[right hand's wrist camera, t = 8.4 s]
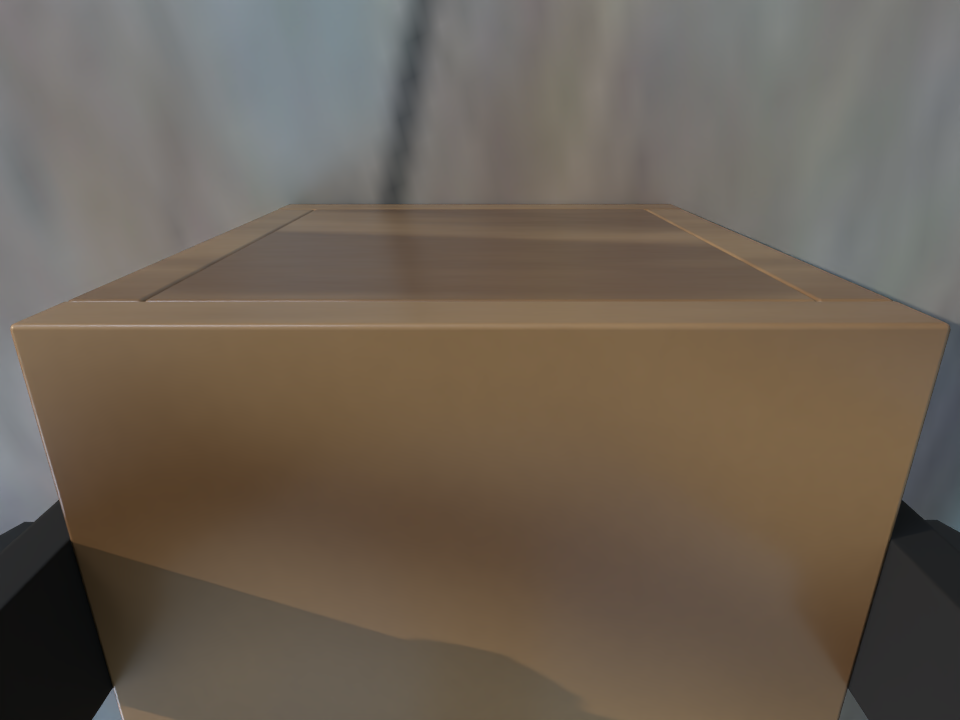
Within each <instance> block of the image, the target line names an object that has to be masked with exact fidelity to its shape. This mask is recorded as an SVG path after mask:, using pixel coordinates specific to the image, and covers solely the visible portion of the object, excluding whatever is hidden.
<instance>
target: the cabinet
mask: <svg viewBox="0 0 960 720" xmlns="http://www.w3.org/2000/svg"><path fill="white" fill-rule="evenodd" d="M949 333H950V325H949V324H947V323H945V322H943V321H940V320H938V319H936V318H933V317H931V316H929V315H926V314H924V313H922V312H919V311H917V310H915V309H912V308H910V307H908V306H905V305H903V304H901V303H898V302H896V301H892V300H891V299H889V298H886V297H884V296H882V295H879V294H877V293H875V292H872V291H870V290H868V289H866V288H863V287H861V286H859V285H856V284H854V283H852V282H849V281H847V280H845V279H842V278H840V277H838V276H835V275H833V274H831V273H828V272H826V271H824V270H821V269H819V268H817V267H814V266H812V265H810V264H807V263H805V262H803V261H801V260H798V259H796V258H794V257H791V256H789V255H787V254H784V253H782V252H780V251H777V250H775V249H773V248H770V247H768V246H766V245H763V244H761V243H759V242H756V241H754V240H752V239H749V238H747V237H745V236H742V235H740V234H738V233H736V232H733V231H731V230H729V229H726V228H724V227H722V226H719V225H717V224H715V223H712V222H710V221H708V220H705V219H703V218H701V217H698V216H696V215H694V214H691V213H689V212H687V211H684V210H682V209H680V208H678V207H676V206H673V205H671V204H289V205H287V206H285V207H282V208H280V209H278V210H276V211H274V212H272V213H269V214H267V215H265V216H263V217H260V218H258V219H256V220H253V221H251V222H249V223H246V224H244V225H242V226H239V227H237V228H235V229H233V230H230V231H228V232H226V233H223V234H221V235H219V236H216V237H214V238H212V239H210V240H207V241H205V242H203V243H200V244H198V245H196V246H193V247H191V248H189V249H186V250H184V251H182V252H180V253H177V254H175V255H173V256H170V257H168V258H166V259H163V260H161V261H159V262H157V263H154V264H152V265H150V266H147V267H145V268H143V269H140V270H138V271H136V272H133V273H131V274H129V275H127V276H124V277H122V278H120V279H117V280H115V281H113V282H110V283H108V284H106V285H103V286H101V287H99V288H97V289H94V290H92V291H90V292H87V293H85V294H83V295H80V296H78V297H76V298H74V299H71V300H69V301H68V302H63V303H61V304H59V305H56V306H54V307H52V308H49V309H47V310H45V311H42V312H40V313H38V314H35V315H33V316H31V317H28V318H26V319H24V320H22V321H19V322H17V323H15V324H12V326H11V334H12V337H13V341H14V344H15V348H16V351H17V355H18V358H19V362H20V365H21V369H22V372H23V376H24V379H25V383H26V386H27V390H28V393H29V397H30V400H31V404H32V407H33V411H34V414H35V418H36V421H37V425H38V428H39V431H40V435H41V438H42V442H43V445H44V449H45V452H46V456H47V459H48V463H49V466H50V470H51V473H52V477H53V480H54V484H55V487H56V491H57V494H58V498H59V501H60V505H61V508H62V512H63V515H64V519H65V522H66V526H67V529H68V532H69V536H70V539H71V543H72V546H73V550H74V553H75V557H76V560H77V564H78V567H79V571H80V574H81V578H82V581H83V585H84V588H85V592H86V595H87V599H88V602H89V606H90V609H91V613H92V616H93V620H94V623H95V627H96V630H97V633H98V637H99V640H100V644H101V647H102V651H103V654H104V658H105V661H106V665H107V668H108V672H109V675H110V679H111V682H112V686H113V689H114V693H115V696H116V700H117V703H118V707H119V710H120V714H121V717H122V720H839V717H840V713H841V710H842V706H843V703H844V699H845V696H846V692H847V689H848V685H849V682H850V678H851V675H852V671H853V668H854V664H855V661H856V657H857V654H858V650H859V647H860V643H861V640H862V636H863V633H864V629H865V626H866V622H867V619H868V615H869V612H870V608H871V605H872V602H873V598H874V595H875V591H876V588H877V584H878V581H879V577H880V574H881V570H882V567H883V563H884V560H885V556H886V553H887V549H888V546H889V542H890V539H891V535H892V532H893V528H894V525H895V521H896V518H897V514H898V511H899V507H900V504H901V500H902V497H903V493H904V490H905V486H906V483H907V479H908V476H909V472H910V469H911V466H912V462H913V459H914V455H915V452H916V448H917V445H918V441H919V438H920V434H921V431H922V427H923V424H924V420H925V417H926V413H927V410H928V406H929V403H930V399H931V396H932V392H933V389H934V385H935V382H936V378H937V375H938V371H939V368H940V364H941V361H942V357H943V354H944V350H945V347H946V343H947V340H948V336H949Z"/></svg>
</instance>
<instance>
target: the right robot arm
mask: <svg viewBox="0 0 960 720" xmlns="http://www.w3.org/2000/svg"><path fill="white" fill-rule="evenodd" d="M112 688H113V686H112V682H111V679H110V675H109V672H108V668H107V665H106V661H105V658H104V654H103V651H102V647H101V644H100V640H99V637H98V633H97V630H96V627H95V623H94V620H93V616H92V613H91V609H90V606H89V602H88V599H87V595H86V592H85V588H84V585H83V581H82V578H81V574H80V571H79V567H78V564H77V560H76V557H75V553H74V550H73V546H72V543H71V539H70V536H69V532H68V529H67V526H66V522H65V519H64V515H63V512H62V508H61V505H60V501H59V500H58V501H57V502H56V503H55V504H54V505H53V506H52V507H50V508H49V509H48V510H47V511H46V512H45V513H44V514H43V515H41V516H40V517H39V518H38V519H37V520H36V521H35V522H24V523H22V524H20V525H18V526H16V527H15V528H13V529H11V530H9V531H7V532H6V533H4V534H2V535H0V720H92V719H93V717H94V716H95V714H96V713H97V711H98V710H99V708H100V707H101V705H102V703H103V702H104V700H105V699H106V697H107V696H108V694H109V693H110V691H111V690H112ZM848 689H849V690H850V692H851V693H852V695H853V696H854V698H855V699H856V701H857V702H858V704H859V705H860V707H861V709H862V710H863V712H864V713H865V715H866V716H867V718H868V719H869V720H960V532H958V531H956V530H954V529H952V528H951V527H949V526H947V525H945V524H943V523H942V522H940V521H938V520H924V519H923V518H922V517H920V516H919V515H918V514H917V513H916V512H915V511H914V510H913V509H911V508H910V507H909V506H908V505H907V504H906V503H905V502H904V501H903V500H901V504H900V507H899V511H898V514H897V518H896V521H895V525H894V528H893V532H892V535H891V539H890V542H889V546H888V549H887V553H886V556H885V560H884V563H883V567H882V570H881V574H880V577H879V581H878V584H877V588H876V591H875V595H874V598H873V602H872V605H871V608H870V612H869V615H868V619H867V622H866V626H865V629H864V633H863V636H862V640H861V643H860V647H859V650H858V654H857V657H856V661H855V664H854V668H853V671H852V675H851V678H850V682H849V685H848Z"/></svg>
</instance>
